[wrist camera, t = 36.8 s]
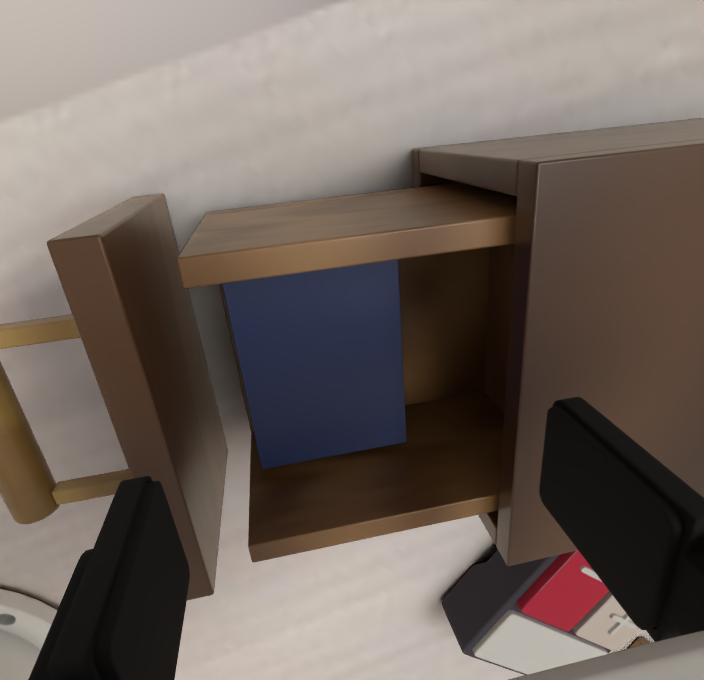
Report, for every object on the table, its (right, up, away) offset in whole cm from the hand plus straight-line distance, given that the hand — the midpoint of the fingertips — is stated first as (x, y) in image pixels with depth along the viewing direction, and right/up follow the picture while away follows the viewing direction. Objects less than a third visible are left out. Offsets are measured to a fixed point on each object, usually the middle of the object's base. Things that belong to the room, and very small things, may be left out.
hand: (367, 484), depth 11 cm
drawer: (-4, +4, +9) cm, 11 cm away
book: (-2, +4, +9) cm, 10 cm away
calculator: (+14, -11, +21) cm, 28 cm away
